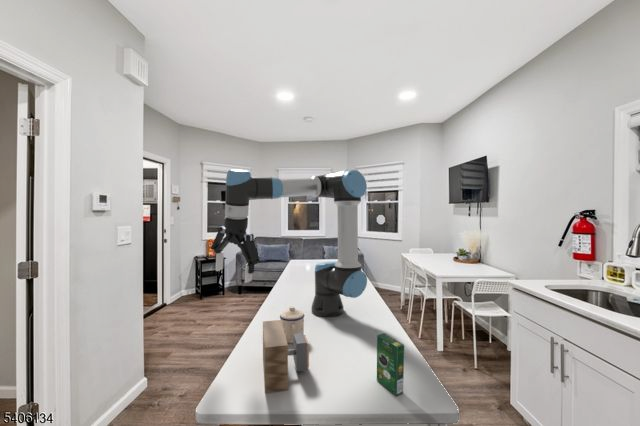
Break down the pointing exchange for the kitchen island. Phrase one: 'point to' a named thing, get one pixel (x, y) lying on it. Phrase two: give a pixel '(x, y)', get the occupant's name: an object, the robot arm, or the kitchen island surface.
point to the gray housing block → (300, 352)
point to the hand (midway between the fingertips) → (233, 275)
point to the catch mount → (275, 356)
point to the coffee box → (390, 363)
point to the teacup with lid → (292, 323)
